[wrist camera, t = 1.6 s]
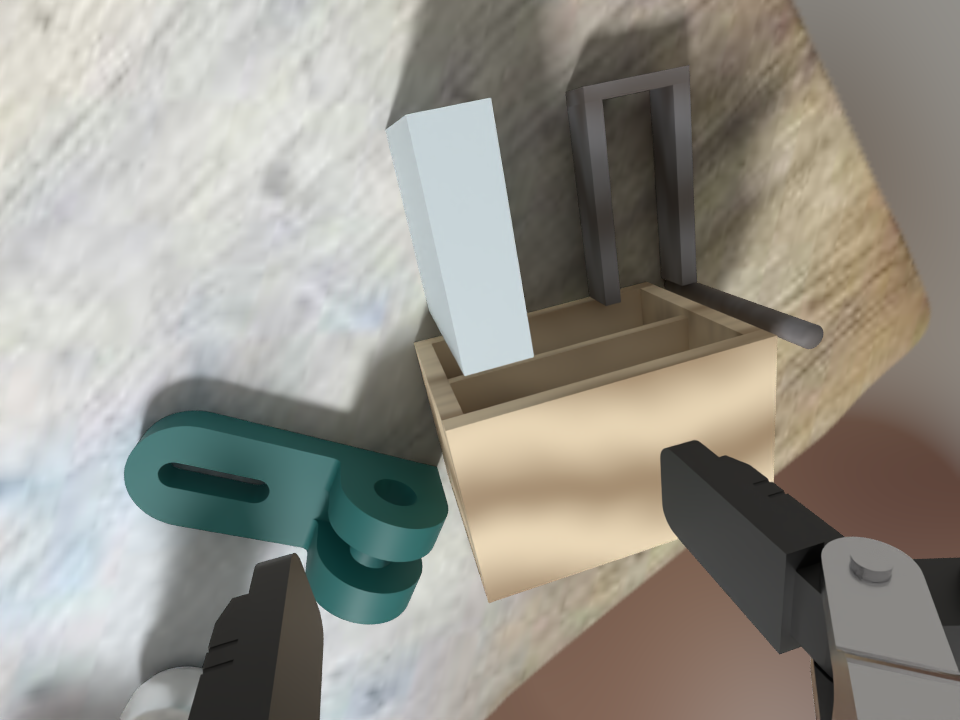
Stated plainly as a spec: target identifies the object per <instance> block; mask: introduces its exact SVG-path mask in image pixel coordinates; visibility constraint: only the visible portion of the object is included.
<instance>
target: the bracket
mask: <svg viewBox="0 0 960 720" xmlns="http://www.w3.org/2000/svg"><path fill="white" fill-rule="evenodd" d="M171 463H180V464H185V465H190V466H195V467H199V468H204V469H209V470H214V471H218V472H223V473H228V474H233V475H237V476H242V477H247V478H252V479H257V480H261V481H263V482H265V483H266V484H263V485H256V484H251V483H246V482H242V481H237V480H232V479H227V478H222V477H217V476H213V475H208V474H203V473H198V472H193V471H188V470H183V469H179V468H176V467H175V466H173V465H172V464H171ZM124 480H125V485H126V488H127V491H128V493H129V495H130V497H131V498H132V500H133V501H134V503H135V504H136V505H137V506H138V507H139V508H140V509H141V510H142V511H144V512H145V513H146V514H148V515H149V516H151V517H153V518H155V519H157V520H159V521H162V522H164V523H168V524H171V525H176V526H182V527H187V528H193V529H199V530H205V531H210V532H216V533H222V534H228V535H233V536H239V537H245V538H251V539H256V540H262V541H268V542H274V543H279V544H285V545H291V546H297V547H302V548H304V549H306V550H307V563H306V572H305V574H306V576H307V579H308V582H309V584H310V587H311V590H312V592H313V595H314V597H315V600H316V601H317V603H318V604H319V605H320V606H322V607H323V608H324V609H325V610H327V611H328V612H330V613H331V614H333V615H335V616H337V617H339V618H341V619H343V620H346V621H349V622H353V623H358V624H380V623H385V622H388V621H390V620H393V619H395V618H396V617H398V616H399V615H400V614H401V613H402V612H403V611H404V610H405V609H406V607H407V605H408V603H409V601H410V598H411V596H412V594H413V592H414V589H415V587H416V585H417V583H418V580H419V578H420V576H421V573H422V559H421V558H422V557H424V556H426V555H427V554H428V553H429V552H430V551H431V550H432V548H433V546H434V544H435V542H436V539H437V537H438V535H439V533H440V530H441V528H442V526H443V524H444V521H445V519H446V517H447V514H448V504H447V500H446V497H445V493H444V490H443V486H442V483H441V479H440V476H439V472H438V469H437V467H435V466H430V465H426V464H422V463H418V462H414V461H410V460H406V459H402V458H397V457H393V456H389V455H385V454H381V453H377V452H373V451H369V450H365V449H360V448H356V447H352V446H348V445H344V444H340V443H336V442H332V441H327V440H323V439H319V438H315V437H311V436H307V435H303V434H299V433H294V432H290V431H286V430H282V429H278V428H274V427H270V426H266V425H262V424H257V423H253V422H249V421H245V420H241V419H237V418H233V417H229V416H224V415H220V414H216V413H212V412H207V411H184V412H179V413H175V414H172V415H169V416H167V417H165V418H163V419H161V420H159V421H158V422H156V423H155V424H154V425H152V426H151V427H150V428H149V429H148V430H147V432H146V433H145V434H144V435H143V437H142V438H141V440H140V441H139V442H138V444H137V445H136V446H135V448H134V449H133V450H132V452H131V453H130V455H129V457H128V459H127V462H126V465H125V470H124Z"/></svg>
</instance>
